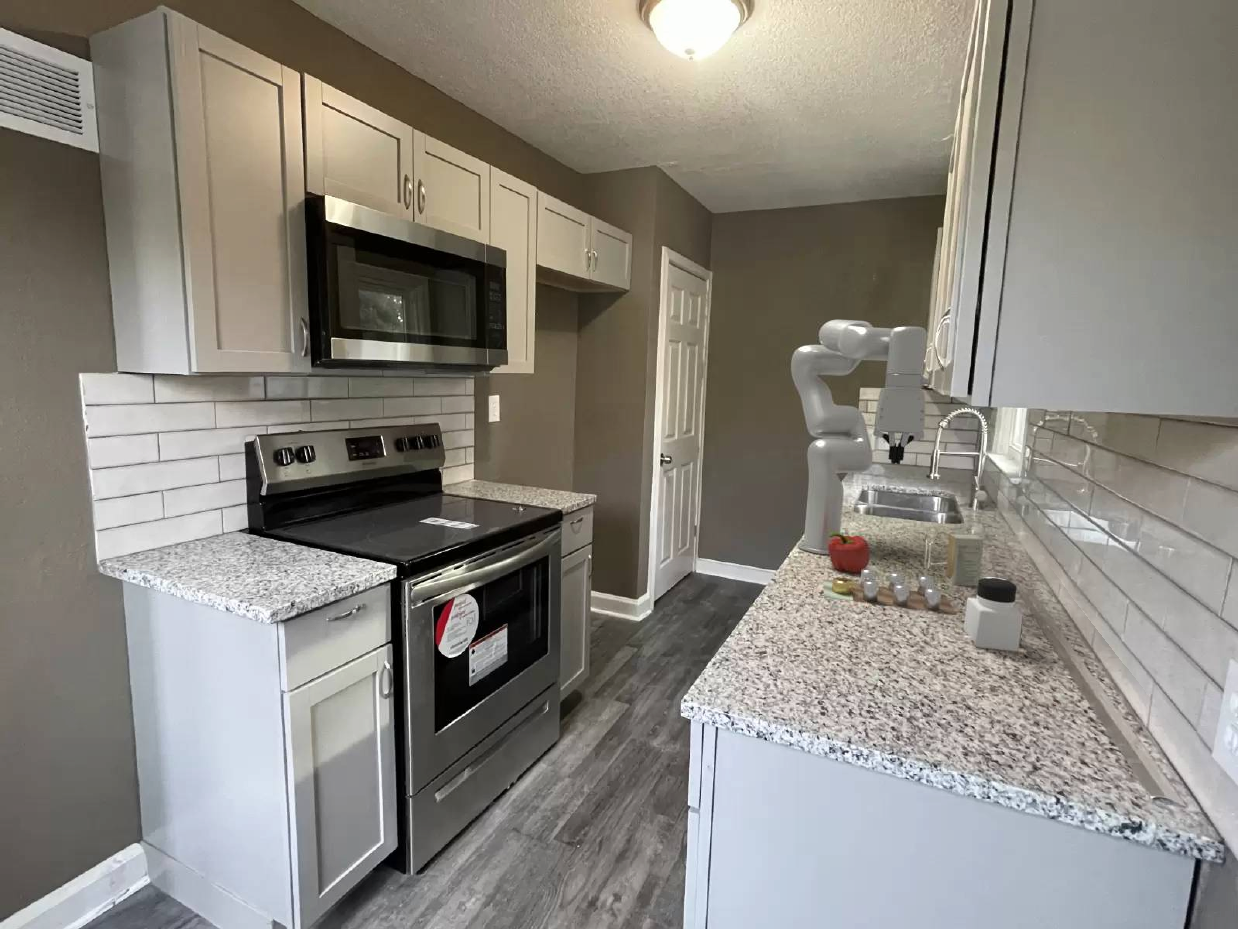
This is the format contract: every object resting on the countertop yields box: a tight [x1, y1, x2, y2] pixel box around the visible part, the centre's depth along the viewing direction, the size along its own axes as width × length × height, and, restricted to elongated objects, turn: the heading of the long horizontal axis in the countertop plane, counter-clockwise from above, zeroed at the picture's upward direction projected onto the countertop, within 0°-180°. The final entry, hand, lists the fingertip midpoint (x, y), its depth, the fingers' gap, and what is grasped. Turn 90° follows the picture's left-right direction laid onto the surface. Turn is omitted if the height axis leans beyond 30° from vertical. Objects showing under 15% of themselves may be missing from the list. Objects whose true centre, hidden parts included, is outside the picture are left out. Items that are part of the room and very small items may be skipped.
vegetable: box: [828, 532, 870, 574], centre depth 157 cm, size 11×10×10 cm
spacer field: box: [859, 567, 942, 611], centre depth 137 cm, size 12×15×4 cm
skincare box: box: [944, 533, 984, 588], centre depth 149 cm, size 6×4×12 cm
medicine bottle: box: [963, 576, 1024, 653], centre depth 115 cm, size 7×7×12 cm
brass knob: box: [832, 577, 855, 595], centre depth 139 cm, size 4×4×2 cm
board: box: [822, 579, 958, 616], centre depth 138 cm, size 13×26×1 cm, turn 72°
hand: (895, 463), depth 143 cm, fingers closed
